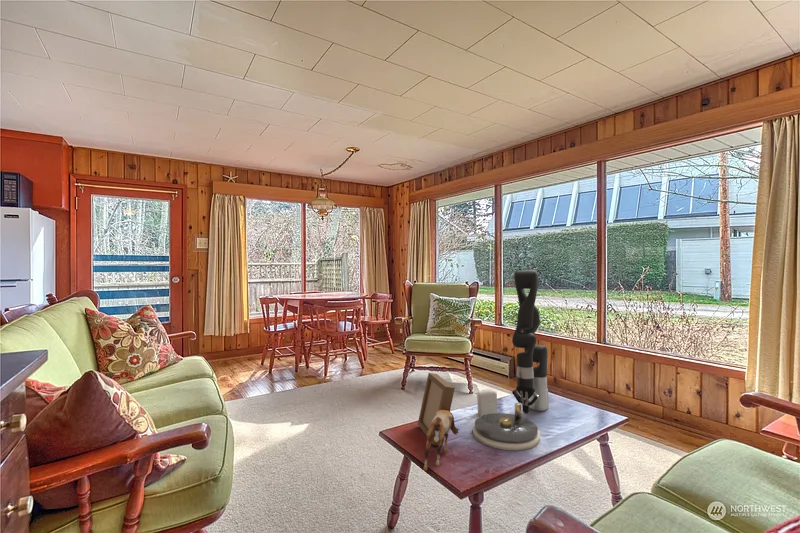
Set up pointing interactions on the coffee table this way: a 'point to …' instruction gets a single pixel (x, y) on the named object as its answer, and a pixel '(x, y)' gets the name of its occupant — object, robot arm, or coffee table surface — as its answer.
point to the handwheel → (507, 427)
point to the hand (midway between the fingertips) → (526, 412)
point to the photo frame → (434, 401)
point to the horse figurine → (439, 432)
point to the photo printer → (487, 401)
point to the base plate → (506, 445)
